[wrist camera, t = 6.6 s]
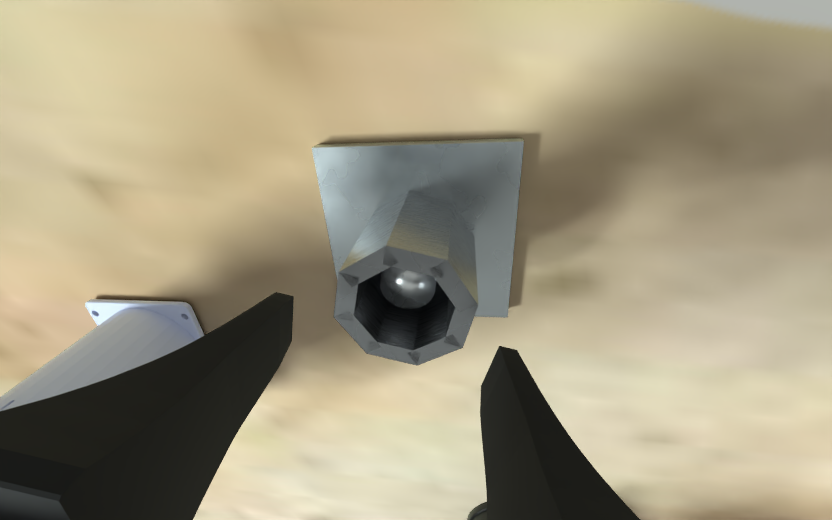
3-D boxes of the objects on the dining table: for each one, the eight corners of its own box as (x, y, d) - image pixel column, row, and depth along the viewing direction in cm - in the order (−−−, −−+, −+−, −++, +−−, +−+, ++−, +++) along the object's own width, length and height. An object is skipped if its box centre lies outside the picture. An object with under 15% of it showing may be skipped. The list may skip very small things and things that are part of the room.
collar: (483, 208, 18) (491, 270, 12) (455, 293, 20) (452, 374, 15) (378, 183, 18) (342, 235, 12) (364, 272, 20) (330, 344, 15)
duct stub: (506, 309, 21) (517, 375, 17) (347, 304, 23) (318, 365, 18) (521, 137, 17) (542, 167, 12) (317, 144, 18) (268, 173, 13)
